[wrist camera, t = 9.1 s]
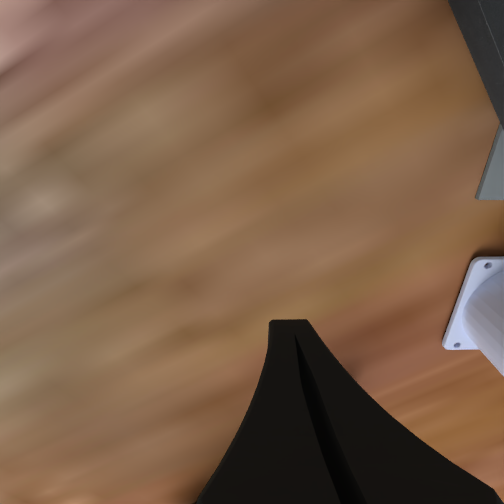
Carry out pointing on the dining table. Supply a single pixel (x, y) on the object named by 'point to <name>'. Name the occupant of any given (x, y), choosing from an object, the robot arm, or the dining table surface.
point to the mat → (493, 171)
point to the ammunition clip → (485, 43)
